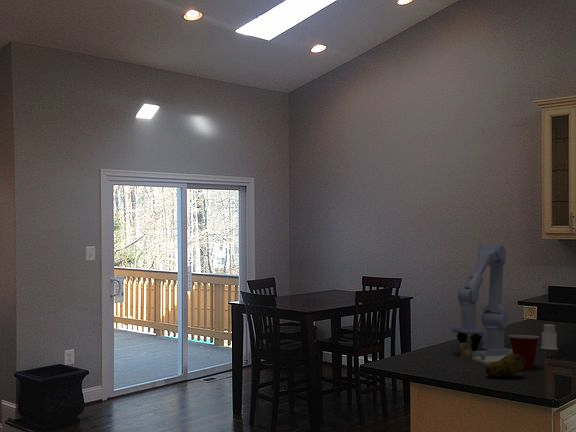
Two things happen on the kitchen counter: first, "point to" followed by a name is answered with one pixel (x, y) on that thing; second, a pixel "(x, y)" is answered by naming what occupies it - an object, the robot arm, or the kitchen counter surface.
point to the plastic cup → (525, 348)
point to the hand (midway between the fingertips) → (469, 352)
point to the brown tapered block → (466, 349)
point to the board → (489, 359)
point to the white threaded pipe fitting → (549, 337)
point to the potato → (506, 366)
